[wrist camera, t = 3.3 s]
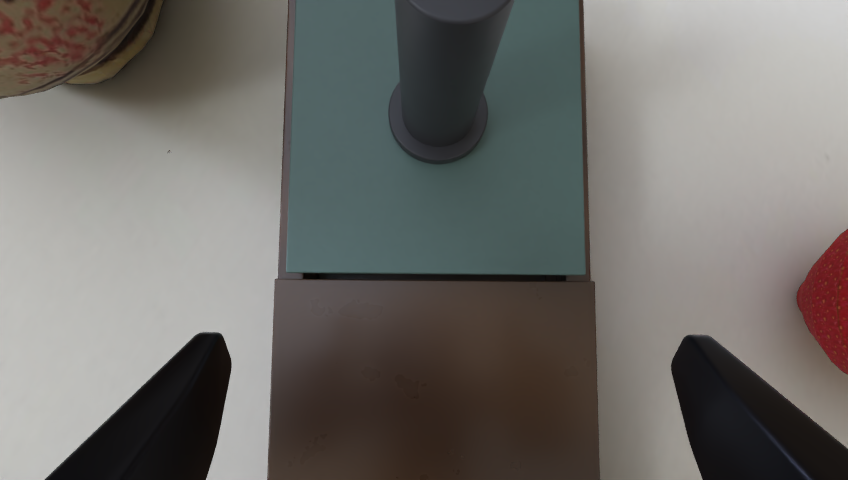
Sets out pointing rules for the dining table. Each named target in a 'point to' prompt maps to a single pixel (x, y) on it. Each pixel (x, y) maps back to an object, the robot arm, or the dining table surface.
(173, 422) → the robot arm
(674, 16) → the dining table surface
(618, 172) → the dining table surface
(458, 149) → the peg plate
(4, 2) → the ceramic jug
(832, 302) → the strawberry
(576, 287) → the sliding lid box
